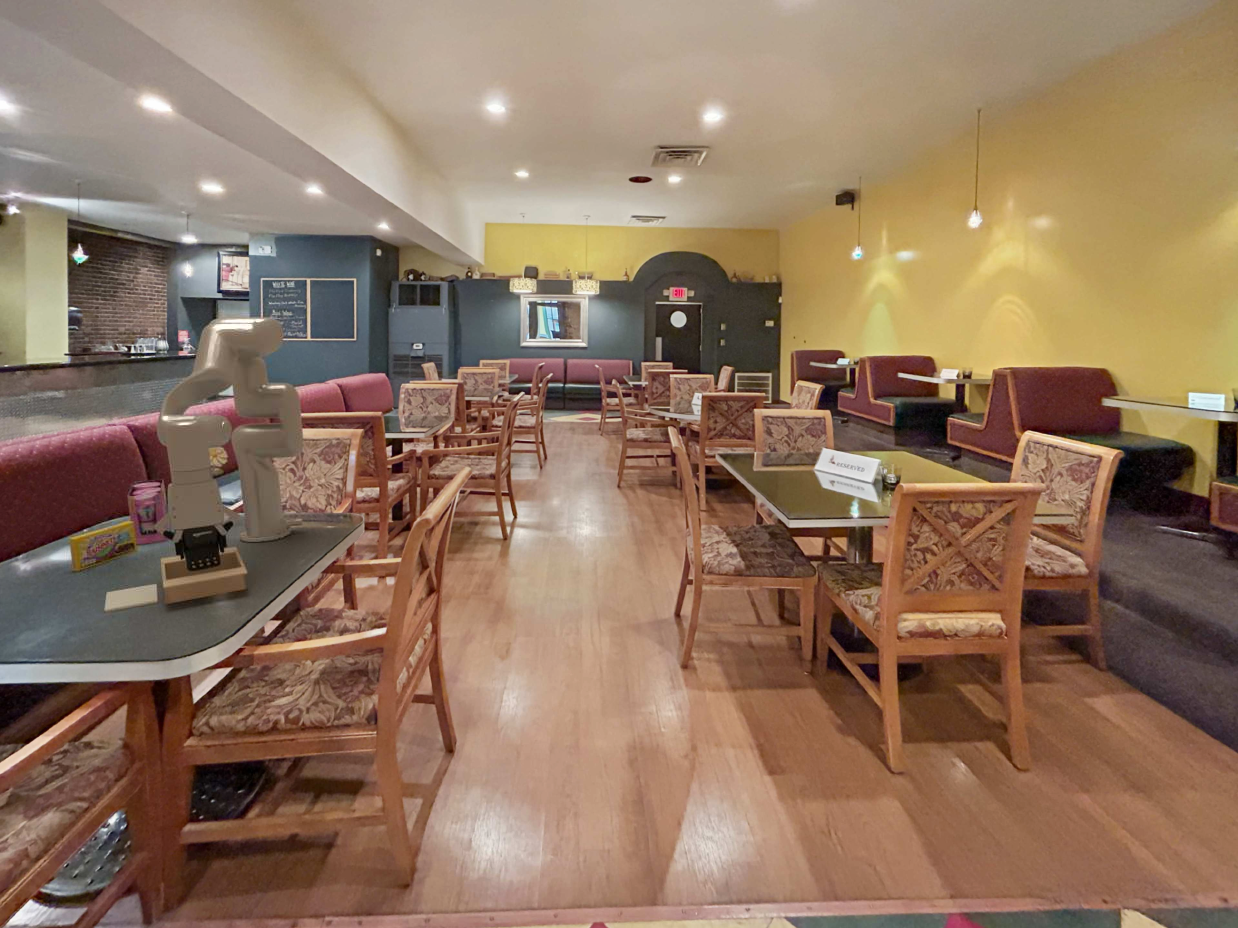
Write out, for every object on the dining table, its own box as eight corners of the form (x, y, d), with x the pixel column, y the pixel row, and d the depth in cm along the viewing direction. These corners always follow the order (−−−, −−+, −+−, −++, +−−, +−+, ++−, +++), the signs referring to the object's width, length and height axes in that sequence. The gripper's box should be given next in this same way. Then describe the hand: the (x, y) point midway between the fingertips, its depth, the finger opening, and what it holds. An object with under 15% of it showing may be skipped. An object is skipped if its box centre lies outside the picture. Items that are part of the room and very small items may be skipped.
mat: (156, 585, 155) (156, 583, 155) (157, 602, 145) (157, 600, 145) (107, 594, 150) (106, 592, 150) (104, 612, 140) (104, 610, 140)
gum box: (167, 542, 188) (161, 493, 185) (132, 547, 184) (125, 497, 181) (170, 522, 208) (164, 478, 206) (138, 526, 204) (132, 481, 201)
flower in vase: (191, 535, 194) (180, 448, 189) (179, 528, 201) (168, 443, 197) (241, 526, 203) (232, 442, 198) (227, 519, 211) (218, 438, 206)
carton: (238, 566, 167) (235, 546, 166) (249, 594, 149) (247, 572, 148) (163, 579, 159) (160, 558, 158) (166, 610, 141) (163, 587, 140)
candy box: (79, 572, 165) (74, 538, 163) (72, 571, 165) (66, 538, 164) (138, 551, 180) (134, 520, 179) (131, 550, 181) (127, 520, 179)
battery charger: (188, 574, 150) (182, 524, 148) (184, 569, 153) (178, 520, 151) (224, 566, 155) (218, 517, 152) (220, 562, 158) (214, 514, 155)
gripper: (235, 468, 157) (244, 542, 161) (143, 478, 148) (155, 557, 151) (239, 474, 151) (248, 551, 155) (143, 485, 142) (156, 567, 145)
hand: (202, 553), depth 153 cm, fingers closed on battery charger, 7 cm apart
